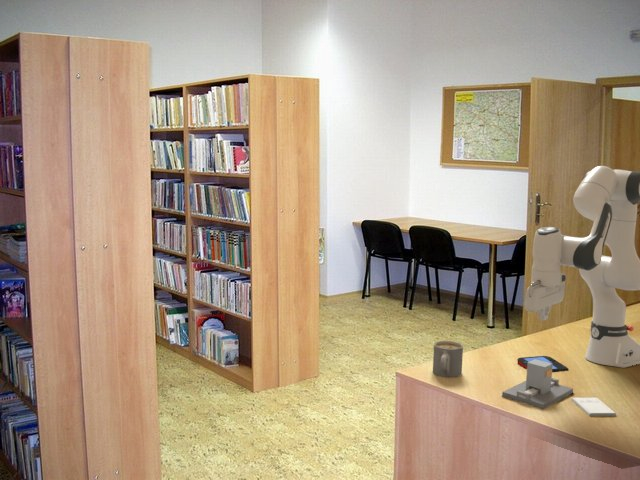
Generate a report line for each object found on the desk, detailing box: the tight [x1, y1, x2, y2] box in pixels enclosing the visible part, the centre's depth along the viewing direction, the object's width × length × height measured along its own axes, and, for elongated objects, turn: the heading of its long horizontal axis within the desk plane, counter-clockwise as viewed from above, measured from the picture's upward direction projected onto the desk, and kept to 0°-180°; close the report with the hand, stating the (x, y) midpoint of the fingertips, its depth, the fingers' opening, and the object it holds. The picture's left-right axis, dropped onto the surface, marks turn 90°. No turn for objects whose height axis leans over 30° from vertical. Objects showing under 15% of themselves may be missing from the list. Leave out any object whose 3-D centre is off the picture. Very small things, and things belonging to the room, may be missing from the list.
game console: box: [516, 355, 569, 373], centre depth 245 cm, size 14×13×2 cm
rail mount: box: [501, 377, 574, 410], centre depth 218 cm, size 20×14×3 cm
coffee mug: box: [432, 340, 464, 378], centre depth 235 cm, size 13×10×10 cm
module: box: [525, 359, 553, 394], centre depth 217 cm, size 5×6×9 cm
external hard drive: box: [571, 396, 617, 417], centre depth 208 cm, size 2×8×12 cm
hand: (543, 319), depth 219 cm, fingers closed
